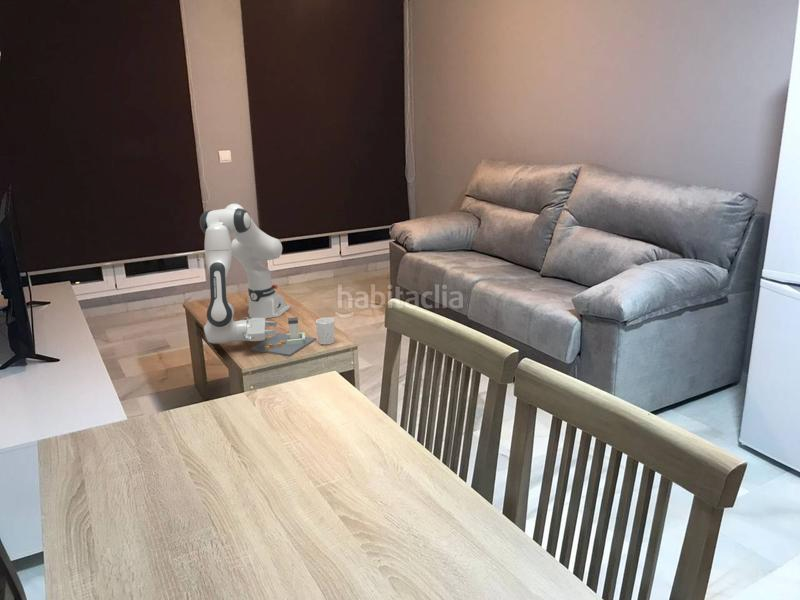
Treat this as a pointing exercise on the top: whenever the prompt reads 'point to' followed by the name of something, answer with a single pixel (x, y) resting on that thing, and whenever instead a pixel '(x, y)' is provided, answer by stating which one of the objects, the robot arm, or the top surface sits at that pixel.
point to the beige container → (293, 328)
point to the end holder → (295, 341)
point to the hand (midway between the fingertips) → (276, 327)
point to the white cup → (325, 330)
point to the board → (280, 345)
